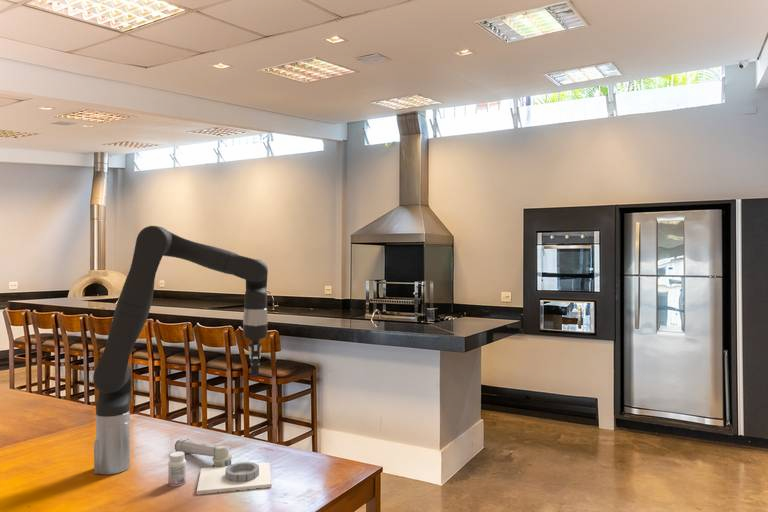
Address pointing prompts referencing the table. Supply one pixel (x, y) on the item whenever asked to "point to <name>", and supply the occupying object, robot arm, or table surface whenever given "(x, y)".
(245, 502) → the table surface
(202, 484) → the collar plate
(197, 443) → the rod with end cap
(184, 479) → the pill bottle
